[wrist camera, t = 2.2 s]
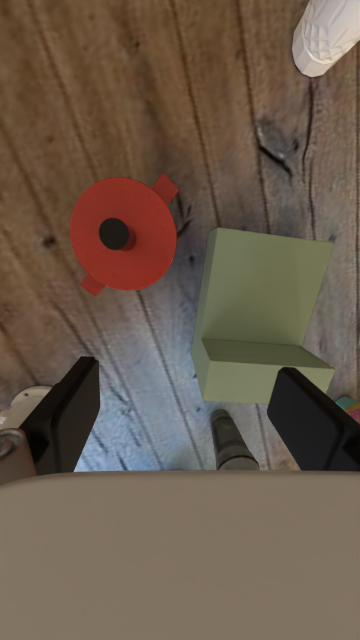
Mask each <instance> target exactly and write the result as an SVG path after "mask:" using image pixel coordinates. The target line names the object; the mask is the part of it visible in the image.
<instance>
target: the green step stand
mask: <svg viewBox="0 0 360 640" xmlns="http://www.w3.org/2000/svg"><path fill="white" fill-rule="evenodd" d="M334 244H335V243H328V242H321V241H314V240H306V239H299V238H292V237H285V236H277V235H270V234H263V233H256V232H248V231H241V230H234V229H227V228H219V227H218V228H216V229H214V230H212V231H210V232H209V234H208V241H207V248H206V255H205V262H204V268H203V275H202V282H201V289H200V296H199V303H198V310H197V317H196V323H195V330H194V337H193V344H192V351H191V356H192V360H193V364H194V368H195V371H196V375H197V379H198V383H199V387H200V391H201V395H202V399H203V401H224V402H245V403H266V404H269V401H270V398H271V394H272V391H273V387H274V384H275V380H276V377H277V373H278V371H279V370H280V369H281V368H282V367H295V368H296V369H298V370H299V371H300V372H301V373H302V374H303V375H304V376H305V377H307V378H308V379H309V380H310V381H311V382H312V383H313V384H315V385H316V386H317V387H318V388H319V389H320V390H321V391H323V392H324V393H325V394H326V391H327V389H328V386H329V384H330V381H331V379H332V376H333V374H334V371H335V369H334V368H333V367H331V366H330V365H328V364H327V363H325V362H324V361H322V360H321V359H319V358H318V357H316V356H315V355H313V354H312V353H310V352H309V351H307V350H306V349H305V348H303V347H302V346H301V345H302V342H303V339H304V336H305V333H306V330H307V327H308V324H309V321H310V318H311V315H312V312H313V309H314V306H315V302H316V299H317V296H318V293H319V290H320V287H321V284H322V281H323V278H324V275H325V272H326V269H327V266H328V263H329V260H330V256H331V253H332V250H333V247H334ZM215 339H219V340H215ZM227 340H231V341H227ZM240 341H244V342H240ZM253 342H256V343H253ZM265 343H269V344H265Z"/></svg>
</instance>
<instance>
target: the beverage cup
mask: <svg viewBox="0 0 360 640" xmlns="http://www.w3.org/2000/svg"><path fill="white" fill-rule="evenodd" d="M210 423H211V431H212V438H213V444H214V450H215V456H216V470H259V469H260V468H259V465H258V462H257V461H256V460H255V458H254V456H253V455H252V453H251V452H250V451H249V450H248V448H247V446H246V444H245V442H244V440H243V438H242V436H241V434H240V432H239V431H238V429H237V427H236V425H235V423H234V421H233V419H232V418H231V416H230V414H229V413H228V412H227V411H225V410H217V411H215V412H213V413H212V414H211V416H210Z"/></svg>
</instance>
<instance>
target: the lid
mask: <svg viewBox="0 0 360 640" xmlns="http://www.w3.org/2000/svg"><path fill="white" fill-rule="evenodd" d="M70 237H71V243H72V246H73V249H74V252H75V254H76V257H77V258H78V260H79V262H80V263H81V265H82V266H83V268H84V269H85V270H86V271H87V272H88V273H89V274H90V275H91V276H92V277H93V278H94V279H96V280H97V281H99V282H100V283H102V284H104V285H106V286H108V287H111V288H114V289H118V290H138V289H142V288H145V287H147V286H150V285H151V284H153V283H155V282H156V281H157V280H159V279H160V278H161V277H162V276H163V275H164V274H165V272H166V271H167V270H168V268H169V266H170V265H171V263H172V260H173V258H174V254H175V250H176V243H177V235H176V228H175V223H174V220H173V217H172V215H171V212H170V211H169V209H168V207H167V205H166V204H165V202H164V201H163V200H162V199H161V197H160V196H159V195H158V194H157V193H156V192H155V191H153V190H152V189H151V188H149V187H148V186H146V185H145V184H143V183H141V182H139V181H136V180H133V179H128V178H117V177H116V178H108V179H105V180H101V181H99V182H97V183H95V184H93V185H92V186H90V187H89V188H88V189H87V190H86V191H85V192H84V193H83V194H82V195H81V196H80V198H79V199H78V201H77V203H76V204H75V207H74V209H73V212H72V216H71V221H70Z"/></svg>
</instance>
